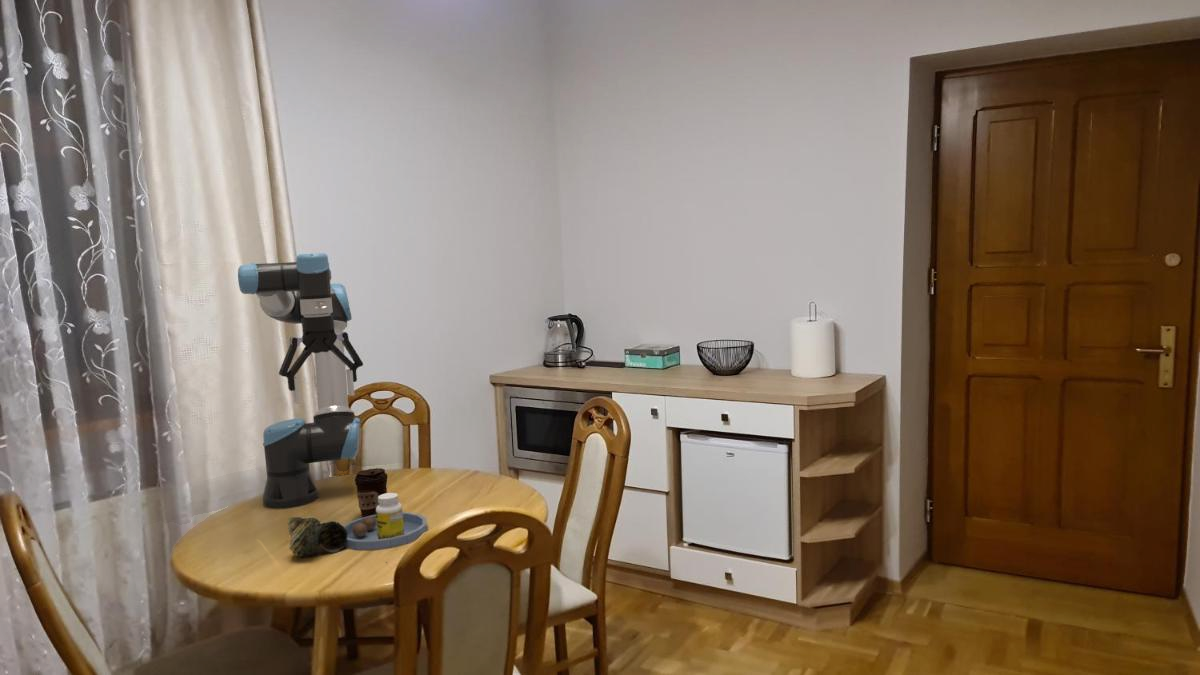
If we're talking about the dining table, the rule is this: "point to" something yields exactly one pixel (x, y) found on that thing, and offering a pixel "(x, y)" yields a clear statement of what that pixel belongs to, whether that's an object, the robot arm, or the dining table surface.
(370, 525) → the walnut bead
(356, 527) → the walnut bead
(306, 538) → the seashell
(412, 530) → the ring tray
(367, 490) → the coffee cup
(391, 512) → the pill bottle
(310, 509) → the dining table surface
